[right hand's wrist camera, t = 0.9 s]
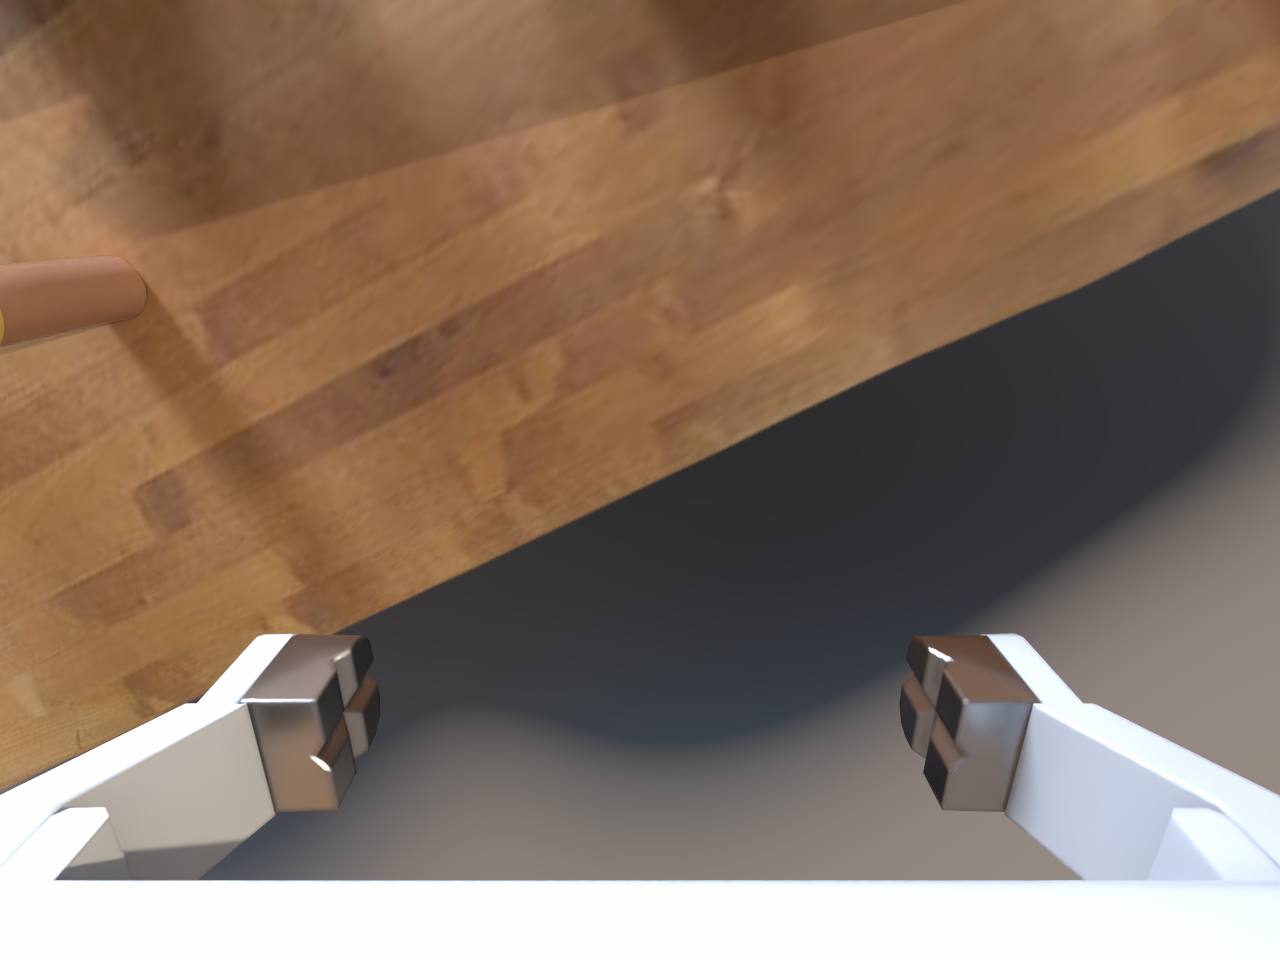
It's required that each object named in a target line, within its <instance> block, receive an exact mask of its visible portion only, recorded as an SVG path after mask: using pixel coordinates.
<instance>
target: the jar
mask: <svg viewBox="0 0 1280 960" xmlns="http://www.w3.org/2000/svg"><path fill="white" fill-rule="evenodd" d="M146 298H147V294H146V288H145V285H144V282H143V280H142V278H141V276H140V275H139V274H138V272H137V271H136V270H135V269H134V268H133V267H132V266H131V265H130V264H128V263H127V262H126V261H124V260H122V259H120V258H118V257H114V256H110V255H100V256H89V257H78V258H67V259H55V260H44V261H33V262H22V263H10V264H0V310H1V313H2V316H3V321H4V334H3V338H2V341H1V343H0V347H3V346H8V345H13V344H17V343H22V342H26V341H31V340H35V339H40V338H45V337H49V336H54V335H58V334H63V333H68V332H72V331H77V330H81V329H86V328H90V327H95V326H100V325H104V324H109V323H113V322H118V321H122V320H127V319H131V318H134V317H135V316H137V315H138V314H139V313H140V312H141V311H142V310H143V308H144V306H145V304H146Z"/></svg>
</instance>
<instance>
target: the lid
mask: <svg viewBox="0 0 1280 960" xmlns="http://www.w3.org/2000/svg"><path fill="white" fill-rule="evenodd" d="M3 334H4V321H3V316H2V313H1V310H0V343H1V341H2V338H3Z"/></svg>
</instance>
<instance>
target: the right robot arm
mask: <svg viewBox="0 0 1280 960" xmlns="http://www.w3.org/2000/svg"><path fill="white" fill-rule="evenodd" d="M373 660H374V659H373V655H372V650H371V645H370V641H369V640H368V639H367V638H366V637H365V636H358V635H310V634H299V635H296V634H265V635H262V636H259V637H257V638H256V639H255V640H254V641H253V642H252V643H251V644H250V645H249V646H248V648H247V649H246V650H245V651H244V652H243V653H242V654H241V655H240V656H239V657H238V659H237V660H236V661H235V662H234V663H233V664H232V665H231V666H230V667H229V669H228V670H227V671H226V672H225V673H224V674H223V675H222V676H221V677H220V679H219V680H218V681H217V682H216V683H215V684H214V685H213V686H212V687H211V689H210V690H209V691H208V692H207V693H206V694H205V695H204V696H203V697H202V698H201V700H200V701H199V702H198V703H197V704H184V705H182V706H180V707H178V708H176V709H174V710H172V711H170V712H168V713H166V714H164V715H162V716H160V717H158V718H156V719H154V720H152V721H150V722H148V723H146V724H144V725H142V726H140V727H138V728H136V729H134V730H132V731H129V732H127V733H125V734H123V735H121V736H119V737H117V738H115V739H113V740H111V741H109V742H107V743H105V744H103V745H101V746H99V747H97V748H95V749H93V750H91V751H89V752H87V753H85V754H83V755H81V756H79V757H77V758H75V759H73V760H71V761H69V762H67V763H65V764H63V765H61V766H59V767H57V768H55V769H53V770H51V771H49V772H47V773H45V774H43V775H40V776H39V777H36V778H34V779H32V780H30V781H28V782H26V783H24V784H22V785H20V786H18V787H16V788H14V789H12V790H10V791H8V792H6V793H4V794H2V795H0V960H1280V796H1279V795H1278V794H1275V793H1273V792H1271V791H1269V790H1267V789H1265V788H1263V787H1261V786H1259V785H1257V784H1255V783H1253V782H1251V781H1249V780H1247V779H1245V778H1243V777H1241V776H1239V775H1237V774H1235V773H1233V772H1231V771H1229V770H1227V769H1225V768H1223V767H1221V766H1219V765H1217V764H1215V763H1213V762H1211V761H1209V760H1207V759H1205V758H1203V757H1201V756H1199V755H1197V754H1195V753H1193V752H1191V751H1189V750H1187V749H1185V748H1183V747H1181V746H1179V745H1177V744H1175V743H1173V742H1171V741H1168V740H1166V739H1164V738H1162V737H1160V736H1158V735H1156V734H1154V733H1152V732H1150V731H1148V730H1146V729H1144V728H1142V727H1140V726H1138V725H1136V724H1134V723H1132V722H1130V721H1128V720H1126V719H1124V718H1122V717H1120V716H1118V715H1116V714H1114V713H1112V712H1110V711H1108V710H1106V709H1104V708H1102V707H1100V706H1098V705H1096V704H1083V703H1082V702H1081V701H1080V700H1079V699H1078V697H1077V696H1076V695H1075V694H1074V693H1073V692H1072V691H1071V690H1070V689H1069V687H1068V686H1067V685H1066V684H1065V683H1064V682H1063V681H1062V680H1061V679H1060V677H1059V676H1058V675H1057V674H1056V673H1055V672H1054V671H1053V670H1052V669H1051V667H1050V666H1049V665H1048V664H1047V663H1046V662H1045V661H1044V660H1043V659H1042V657H1041V656H1040V655H1039V654H1038V653H1037V652H1036V651H1035V650H1034V649H1033V647H1032V646H1031V645H1030V644H1029V643H1028V642H1027V641H1026V640H1025V639H1024V638H1023V637H1021V636H1019V635H1017V634H990V635H978V636H918V637H913V639H912V641H911V643H910V645H909V648H908V654H907V659H906V660H907V662H908V664H909V665H910V667H911V669H912V671H913V672H914V673H913V674H912V675H911V676H910V677H909V678H908V679H907V680H906V681H905V682H904V683H903V684H902V689H901V697H900V714H901V723H902V727H903V730H904V734H905V737H906V739H907V741H908V743H909V745H910V747H911V749H912V750H913V751H915V752H916V753H918V754H919V755H920V756H922V757H923V758H925V759H926V761H925V767H924V772H923V773H924V775H925V777H926V779H927V781H928V783H929V785H930V787H931V789H932V791H933V793H934V795H935V796H936V799H937V800H938V802H939V804H940V806H941V808H942V810H958V811H992V812H1005V815H1006V816H1007V817H1008V818H1009V819H1010V820H1012V821H1013V822H1014V823H1015V824H1016V825H1017V826H1019V827H1020V828H1021V829H1022V830H1023V831H1025V832H1026V833H1027V834H1028V835H1029V836H1031V837H1032V838H1033V839H1034V840H1035V841H1037V842H1038V843H1039V844H1040V845H1041V846H1043V847H1044V848H1045V849H1046V850H1047V851H1049V852H1050V853H1051V854H1052V855H1054V856H1055V857H1056V858H1057V859H1058V860H1059V861H1061V862H1062V863H1063V864H1064V865H1065V866H1067V867H1068V868H1069V869H1070V870H1071V871H1073V872H1074V873H1075V874H1076V875H1077V876H1079V877H1080V878H1081V879H1082V880H1061V881H854V880H853V881H852V880H851V881H850V880H847V881H845V880H841V881H840V880H837V881H836V880H683V881H681V880H679V881H678V880H677V881H676V880H673V881H672V880H671V881H669V880H668V881H197V880H198V879H199V878H200V877H202V876H203V875H204V874H205V873H206V872H208V871H209V870H210V869H211V868H212V867H214V866H215V865H216V864H217V863H218V862H220V861H221V860H222V859H223V858H224V857H226V856H227V855H228V854H229V853H230V852H232V851H233V850H234V849H235V848H236V847H238V846H239V845H240V844H241V843H242V842H244V841H245V840H246V839H247V838H248V837H250V836H251V835H252V834H253V833H254V832H256V831H257V830H258V829H259V828H260V827H262V826H263V825H264V824H265V823H266V822H268V821H269V820H270V819H271V818H272V817H274V816H275V812H287V811H322V810H338V808H339V806H340V805H341V802H342V800H343V799H344V797H345V795H346V793H347V791H348V789H349V787H350V785H351V783H352V781H353V779H354V777H355V775H356V773H357V772H356V766H355V761H354V759H355V758H357V757H358V756H360V755H361V754H362V753H364V752H365V751H367V750H368V749H369V747H370V745H371V743H372V741H373V739H374V736H375V734H376V730H377V725H378V721H379V716H380V695H379V689H378V684H377V683H376V682H375V681H374V680H373V679H372V678H371V677H370V676H369V675H368V674H367V673H366V672H367V671H368V669H369V667H370V665H371V664H372V662H373Z"/></svg>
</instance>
